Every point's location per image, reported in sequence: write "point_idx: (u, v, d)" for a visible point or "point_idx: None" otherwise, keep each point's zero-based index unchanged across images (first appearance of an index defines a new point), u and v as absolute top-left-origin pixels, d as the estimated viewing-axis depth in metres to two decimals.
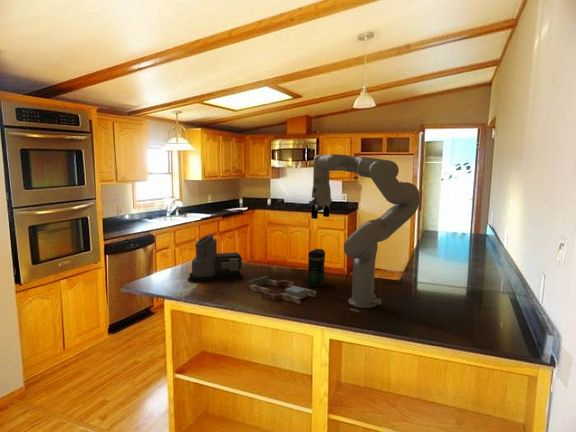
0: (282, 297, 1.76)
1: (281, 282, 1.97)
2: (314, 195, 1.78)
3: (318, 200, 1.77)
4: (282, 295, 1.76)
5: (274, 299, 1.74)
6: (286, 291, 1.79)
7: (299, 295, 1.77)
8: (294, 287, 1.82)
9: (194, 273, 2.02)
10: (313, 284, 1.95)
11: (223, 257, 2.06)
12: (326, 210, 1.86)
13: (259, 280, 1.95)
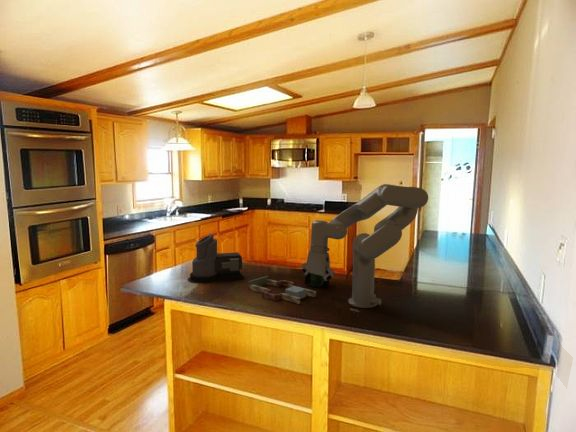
0: (282, 297, 1.76)
1: (281, 282, 1.97)
2: (326, 265, 1.66)
3: None
4: (282, 295, 1.76)
5: (274, 299, 1.74)
6: (286, 291, 1.79)
7: (299, 295, 1.77)
8: (294, 287, 1.82)
9: (194, 273, 2.03)
10: (313, 284, 1.95)
11: (223, 257, 2.06)
12: (309, 277, 1.74)
13: (259, 280, 1.95)
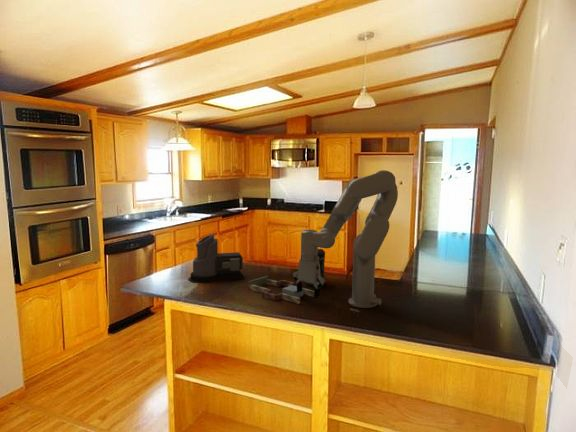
0: (282, 297, 1.76)
1: (281, 282, 1.97)
2: (317, 273, 1.70)
3: None
4: (282, 295, 1.76)
5: (274, 299, 1.74)
6: (283, 290, 1.80)
7: (296, 294, 1.78)
8: (291, 286, 1.84)
9: (195, 273, 2.03)
10: (313, 284, 1.95)
11: (224, 257, 2.06)
12: (300, 285, 1.78)
13: (259, 280, 1.95)
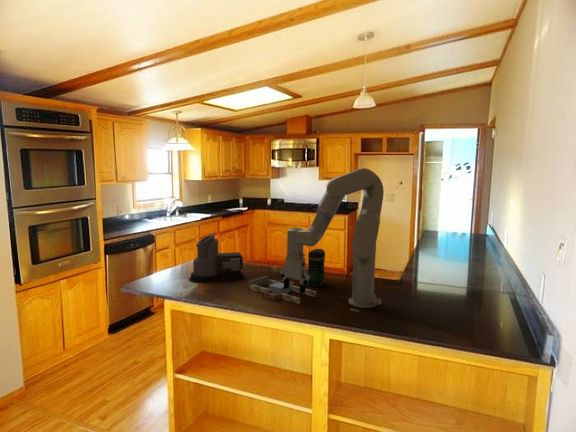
0: (282, 297, 1.76)
1: (281, 282, 1.97)
2: (303, 270, 1.76)
3: None
4: (282, 295, 1.76)
5: (274, 299, 1.74)
6: (270, 287, 1.85)
7: (282, 291, 1.83)
8: (278, 283, 1.88)
9: (195, 273, 2.03)
10: (313, 284, 1.95)
11: (224, 257, 2.06)
12: (287, 281, 1.83)
13: (259, 280, 1.95)
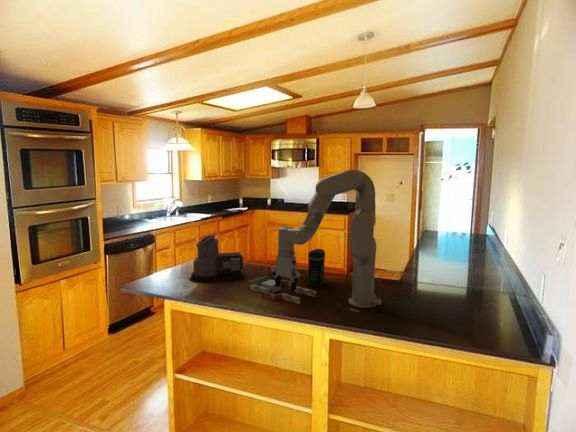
0: (282, 297, 1.76)
1: (281, 282, 1.97)
2: (293, 267, 1.79)
3: None
4: (282, 295, 1.76)
5: (274, 299, 1.74)
6: (262, 284, 1.89)
7: (274, 288, 1.86)
8: (270, 281, 1.92)
9: (196, 273, 2.03)
10: (313, 284, 1.95)
11: (224, 257, 2.06)
12: (279, 279, 1.86)
13: (259, 280, 1.95)
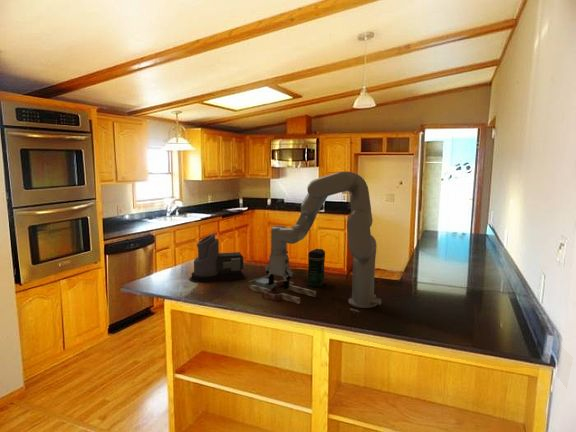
0: (282, 297, 1.76)
1: (281, 282, 1.97)
2: (286, 266, 1.82)
3: None
4: (282, 295, 1.76)
5: (274, 299, 1.74)
6: (255, 282, 1.92)
7: (267, 286, 1.89)
8: (263, 279, 1.95)
9: (196, 272, 2.03)
10: (313, 284, 1.95)
11: (225, 257, 2.07)
12: (272, 278, 1.89)
13: None
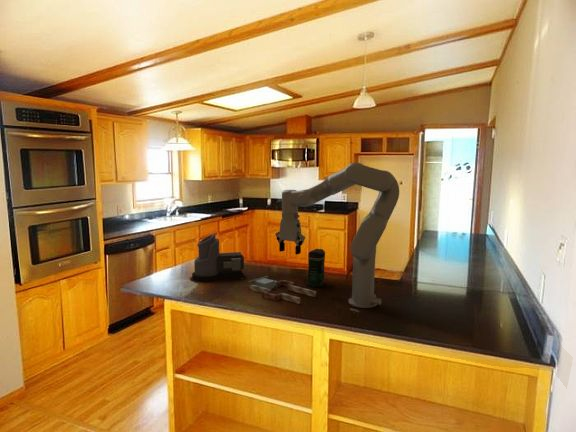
0: (282, 297, 1.76)
1: (281, 282, 1.97)
2: (297, 231, 1.76)
3: None
4: (282, 295, 1.76)
5: (274, 299, 1.74)
6: (255, 282, 1.92)
7: (267, 286, 1.89)
8: (263, 279, 1.95)
9: (196, 272, 2.04)
10: (313, 284, 1.95)
11: (225, 257, 2.07)
12: (283, 244, 1.84)
13: None
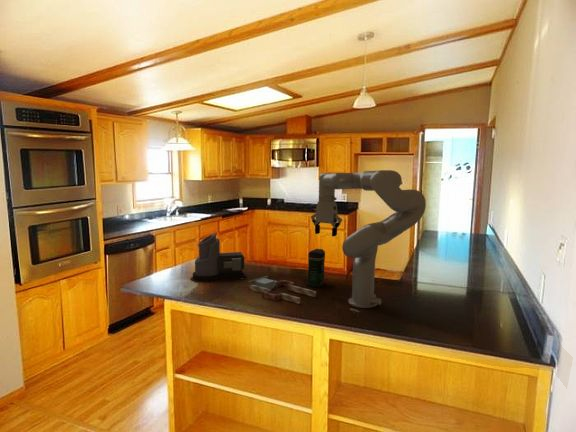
0: (282, 297, 1.76)
1: (281, 282, 1.97)
2: (334, 213, 1.80)
3: None
4: (282, 295, 1.76)
5: (274, 299, 1.74)
6: (255, 282, 1.92)
7: (267, 286, 1.89)
8: (263, 279, 1.95)
9: (197, 272, 2.04)
10: (313, 284, 1.95)
11: (226, 257, 2.07)
12: (318, 227, 1.87)
13: None
